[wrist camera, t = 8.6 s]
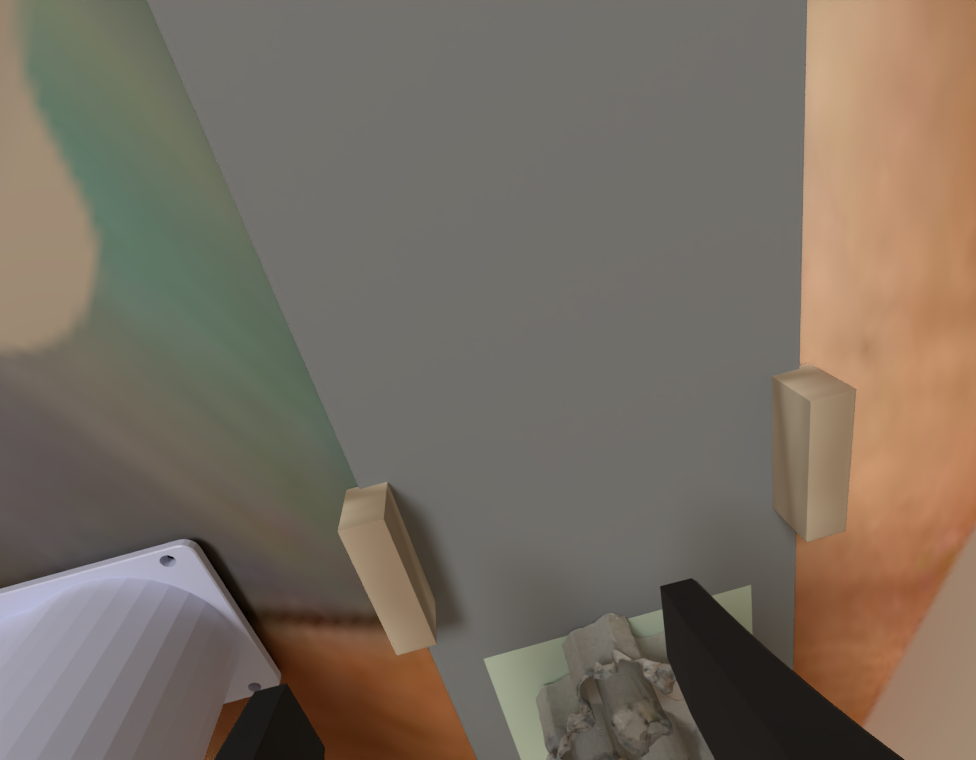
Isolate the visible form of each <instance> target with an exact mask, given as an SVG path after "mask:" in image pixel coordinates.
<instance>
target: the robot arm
mask: <svg viewBox="0 0 976 760" xmlns="http://www.w3.org/2000/svg"><path fill="white" fill-rule="evenodd" d="M166 555H169V556H172V557H174V558H175V559H171V558H168V557H167V556H166ZM660 591H661V601H662V611H663V621H664V631H665V641H666V651H667V659H668V661H669V663H670V666H671V668H672V671H673V673H674V675H675V678H676V680H677V683H678V685H679V687H680V690H681V692H682V694H683V697H684V699H685V701H686V704H687V706H688V708H689V711H690V713H691V715H692V717H693V719H694V721H695V723H696V725H697V727H698V729H699V731H700V733H701V734H702V736H703V738H704V740H705V742H706V744H707V746H708V748H709V750H710V751H711V753H712V755H713V757H714V759H715V760H904V759H903V758H902V757H900V756H899V755H898V754H896V753H895V752H893V751H892V750H891V749H890V748H888V747H887V746H886V745H884V744H883V743H882V742H880V741H879V740H878V739H876V738H875V737H874V736H872V735H871V734H870V733H869V732H867V731H866V730H865V729H863V728H862V727H861V726H860V725H858V724H857V723H856V722H855V721H853V720H852V719H851V718H850V717H848V716H847V715H846V714H845V713H843V712H842V711H841V710H839V709H838V708H837V707H836V706H834V705H833V704H832V703H831V702H829V701H828V700H827V699H826V698H825V697H823V696H822V695H821V694H820V693H819V692H817V691H816V690H815V689H814V688H813V687H811V686H810V685H809V684H808V683H807V682H805V681H804V680H803V679H802V678H801V677H800V676H798V675H797V674H796V673H795V672H794V671H793V670H792V669H790V668H789V667H788V666H787V665H786V664H785V663H783V662H782V661H781V660H780V659H779V658H778V657H776V656H775V655H774V654H773V653H772V652H771V651H770V650H768V649H767V648H766V647H765V646H764V645H763V644H762V643H761V642H760V641H758V640H757V639H756V638H755V637H754V636H753V635H752V634H751V633H750V632H749V631H748V630H746V629H745V628H744V627H743V626H742V625H741V624H740V623H739V622H738V621H737V620H736V619H735V618H734V617H733V616H732V615H730V614H729V613H728V612H727V611H726V610H725V609H724V608H723V607H722V606H721V605H720V604H719V603H718V602H717V601H716V600H715V599H714V598H713V597H712V596H711V595H710V594H709V593H708V592H707V591H706V590H705V589H704V588H703V587H702V586H701V585H700V584H699V583H698V582H697V581H696V580H694V579H692V578H690V579H686V580H682V581H678V582H674V583H670V584H667V585H663V586H660ZM280 680H281V673H280V671H279V669H278V668H277V666H276V665H275V663H274V662H273V660H272V659H271V657H270V655H269V654H268V652H267V651H266V649H265V648H264V646H263V644H262V643H261V641H260V640H259V638H258V637H257V635H256V634H255V632H254V630H253V629H252V627H251V626H250V624H249V623H248V621H247V619H246V618H245V616H244V615H243V613H242V612H241V610H240V609H239V607H238V605H237V604H236V602H235V601H234V599H233V598H232V596H231V594H230V593H229V591H228V590H227V588H226V587H225V585H224V584H223V582H222V580H221V579H220V577H219V576H218V574H217V573H216V571H215V569H214V568H213V566H212V565H211V563H210V562H209V560H208V558H207V557H206V555H205V554H204V552H203V551H202V549H201V548H200V546H199V545H198V544H197V543H196V542H194V541H192V540H187V539H182V540H176V541H173V542H169V543H166V544H162V545H158V546H155V547H151V548H147V549H144V550H140V551H136V552H133V553H129V554H125V555H122V556H118V557H115V558H111V559H107V560H104V561H100V562H96V563H93V564H89V565H85V566H82V567H78V568H74V569H71V570H67V571H63V572H60V573H56V574H53V575H49V576H45V577H42V578H38V579H34V580H31V581H27V582H23V583H20V584H16V585H12V586H9V587H5V588H2V589H0V760H204V758H205V755H206V752H207V749H208V746H209V744H210V741H211V738H212V735H213V732H214V729H215V727H216V724H217V721H218V718H219V715H220V712H221V710H222V707H223V704H225V703H229V702H233V701H236V700H240V699H243V698H247V697H251V698H250V700H249V701H248V703H247V705H246V706H245V708H244V710H243V711H242V713H241V715H240V716H239V718H238V720H237V721H236V723H235V725H234V727H233V728H232V730H231V732H230V733H229V735H228V737H227V738H226V740H225V742H224V744H223V745H222V747H221V749H220V750H219V752H218V754H217V755H216V757H215V759H214V760H324V753H325V747H324V745H323V744H322V742H321V740H320V739H319V737H318V735H317V734H316V732H315V730H314V728H313V727H312V725H311V723H310V722H309V720H308V718H307V717H306V715H305V713H304V712H303V710H302V708H301V707H300V705H299V703H298V702H297V700H296V698H295V696H294V695H293V693H292V691H291V690H290V688H289V686H288V685H287V683H285V684H282V685H279V683H280Z"/></svg>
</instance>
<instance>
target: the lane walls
mask: <svg viewBox="0 0 976 760" xmlns="http://www.w3.org/2000/svg"><path fill="white" fill-rule="evenodd" d="M855 399H856V389H855V388H853V387H851V386H850V385H848V384H846V383H844V382H843V381H841V380H839V379H837V378H835V377H834V376H832V375H830V374H828V373H826V372H825V371H823V370H821V369H819V368H817V367H816V366H814V365H812V364H810V363H807V364H803V365H800V366H799V369H797V370H793V371H790V372H786V373H782V374H779V375H775V376H772V471H773V509H774V510H775V511H776V512H777V513H778V514H779V515H780V516H781V517H782V518H783V519H784V520H785V521H786V522H787V523H788V524H789V525H790V526H791V527H792V528H793V529H794V530H795V531H796V532H797V533H798V534H799V535H800V536H801V537H802V538H803V539H804V540H805V541H806V542H809V541H812V540H816V539H820V538H823V537H827V536H830V535H834V534H838V533H841V532H845V531H846V520H847V506H848V493H849V479H850V466H851V453H852V439H853V426H854V412H855ZM338 534H339V536H340V538H341V540H342V542H343V544H344V546H345V548H346V550H347V552H348V554H349V556H350V559H351V561H352V563H353V565H354V567H355V569H356V571H357V573H358V575H359V577H360V579H361V582H362V584H363V586H364V588H365V590H366V592H367V594H368V596H369V598H370V600H371V602H372V604H373V607H374V609H375V611H376V613H377V615H378V617H379V619H380V621H381V623H382V625H383V627H384V630H385V632H386V634H387V636H388V638H389V640H390V642H391V644H392V646H393V648H394V650H395V652H396V655H400V654H403V653H407V652H411V651H414V650H418V649H422V648H425V647H429V646H432V645H436V644H437V639H436V608H435V599H434V596H433V594H432V591H431V589H430V586H429V584H428V582H427V579H426V577H425V574H424V572H423V569H422V567H421V564H420V562H419V559H418V557H417V554H416V552H415V549H414V547H413V544H412V542H411V539H410V537H409V534H408V532H407V529H406V527H405V524H404V522H403V519H402V517H401V515H400V512H399V510H398V507H397V505H396V502H395V500H394V497H393V495H392V492H391V490H390V487H389V485H388V482H385V483H381V484H378V485H374V486H370V487H367V488H363V489H359V487H355V488H351V489H348V490H346V495H345V500H344V504H343V509H342V514H341V518H340V523H339V528H338Z"/></svg>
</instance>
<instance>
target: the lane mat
mask: <svg viewBox="0 0 976 760" xmlns="http://www.w3.org/2000/svg"><path fill="white" fill-rule="evenodd" d="M147 2H148V4H149V6H150V9H151V11H152V13H153V15H154V18H155V20H156V22H157V25H158V27H159V29H160V32H161V34H162V36H163V38H164V41H165V43H166V45H167V48H168V50H169V52H170V54H171V57H172V59H173V61H174V64H175V66H176V68H177V71H178V73H179V75H180V77H181V80H182V82H183V84H184V87H185V89H186V91H187V94H188V96H189V98H190V100H191V103H192V105H193V107H194V110H195V112H196V114H197V117H198V119H199V121H200V123H201V126H202V128H203V130H204V133H205V135H206V137H207V140H208V142H209V144H210V146H211V149H212V151H213V153H214V156H215V158H216V160H217V163H218V165H219V167H220V169H221V172H222V174H223V176H224V179H225V181H226V183H227V186H228V188H229V190H230V192H231V195H232V197H233V199H234V202H235V204H236V206H237V208H238V211H239V213H240V215H241V218H242V220H243V222H244V225H245V227H246V229H247V231H248V234H249V236H250V238H251V241H252V243H253V245H254V248H255V250H256V252H257V254H258V257H259V259H260V261H261V264H262V266H263V268H264V271H265V273H266V275H267V277H268V280H269V282H270V284H271V287H272V289H273V291H274V294H275V296H276V298H277V300H278V303H279V305H280V307H281V310H282V312H283V314H284V317H285V319H286V321H287V323H288V326H289V328H290V330H291V333H292V335H293V337H294V340H295V342H296V344H297V346H298V349H299V351H300V353H301V356H302V358H303V360H304V363H305V365H306V367H307V369H308V372H309V374H310V376H311V379H312V381H313V383H314V385H315V388H316V390H317V392H318V395H319V397H320V399H321V402H322V404H323V406H324V408H325V411H326V413H327V415H328V418H329V420H330V422H331V425H332V427H333V429H334V431H335V434H336V436H337V438H338V441H339V443H340V445H341V448H342V450H343V452H344V454H345V457H346V459H347V461H348V464H349V466H350V468H351V471H352V473H353V475H354V477H355V480H356V482H357V484H358V487H359V489H363V488H367V487H370V486H374V485H378V484H381V483H385V482H388V485H389V487H390V490H391V492H392V495H393V497H394V500H395V502H396V505H397V507H398V510H399V512H400V515H401V517H402V519H403V522H404V524H405V527H406V529H407V532H408V534H409V537H410V539H411V542H412V544H413V547H414V549H415V552H416V554H417V557H418V559H419V562H420V564H421V567H422V569H423V572H424V574H425V577H426V579H427V582H428V584H429V586H430V589H431V591H432V594H433V596H434V599H435V608H436V639H437V644H436V645H432V646H429V647H428V648H429V650H430V652H431V654H432V657H433V659H434V661H435V664H436V666H437V668H438V671H439V673H440V675H441V677H442V680H443V682H444V684H445V687H446V689H447V691H448V694H449V696H450V698H451V700H452V703H453V705H454V707H455V710H456V712H457V714H458V716H459V719H460V721H461V723H462V726H463V728H464V730H465V733H466V735H467V737H468V739H469V742H470V744H471V746H472V749H473V751H474V753H475V756H476V758H477V760H546V758H547V755H548V754H549V753H548V752H547V749H546V747H545V743H544V736H543V731H542V726H541V722H540V718H539V711H538V707H537V704H536V697H537V696H538V694H539V692H540V690H541V688H542V687H543V686H544V685H549V684H553V683H555V682H557V681H558V680H560V679H562V678H563V677H564V676H566V675H568V674H569V668H568V664H567V661H566V658H565V654H564V650H563V648H562V644H563V643H564V642H565V640H566V638H567V636H568V635H569V633H570V632H572V631H573V630H575V629H578V628H584V627H586V626H587V625H589V624H591V623H595V622H596V621H597V620H598V619H599V618H600V617H602V616H603V615H604V614H607V613H614V614H618V615H621V616H625V617H626V619H627V622H628V624H629V627H630V630H631V634H632V635H633V636H635V637H642V638H645V637H652V636H654V635H657V634H659V633H661V632H663V631H664V621H663V611H662V601H661V591H660V586H663V585H667V584H670V583H674V582H678V581H682V580H686V579H690V578H692V579H694V580H696V581H697V582H698V583H699V584H700V585H701V586H702V587H703V588H704V589H705V590H706V591H707V592H708V593H709V594H710V595H711V596H712V597H713V598H714V599H715V600H716V601H717V602H718V603H719V604H720V605H721V606H722V607H723V608H724V609H725V610H726V611H727V612H728V613H729V614H730V615H732V616H733V617H734V618H735V619H736V620H737V621H738V622H739V623H740V624H741V625H742V626H743V627H744V628H745V629H746V630H748V631H749V632H750V633H751V634H752V635H753V636H754V637H755V638H756V639H757V640H758V641H760V642H761V643H762V644H763V645H764V646H765V647H766V648H767V649H768V650H770V651H771V652H772V653H773V654H774V655H775V656H776V657H778V658H779V659H780V660H781V661H782V662H783V663H785V664H786V665H787V666H788V667H789V668H790V669H792V670H793V654H794V606H795V558H796V531H795V530H794V529H793V528H792V527H791V526H790V525H789V524H788V523H787V522H786V521H785V520H784V519H783V518H782V517H781V516H780V515H779V514H778V513H777V512H776V511H775V510H774V509H773V471H772V376H775V375H779V374H782V373H786V372H790V371H793V370H797V369H799V364H800V316H801V267H802V219H803V171H804V122H805V74H806V26H807V0H147Z"/></svg>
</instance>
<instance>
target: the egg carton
mask: <svg viewBox="0 0 976 760" xmlns="http://www.w3.org/2000/svg"><path fill="white" fill-rule="evenodd" d="M562 648H563V650H564V654H565V658H566V661H567V664H568V668H569V674H568V675H566V676H564V677H563V678H562V679H560V680H558V681H557V682H555V683H553V684H549V685H544V686H543V687H542V688H541V690H540V692H539V694H538V696H537V697H536V704H537V707H538V711H539V718H540V722H541V726H542V731H543V736H544V743H545V747H546V749H547V752H548V753H549V754H548V755H547V758H546V760H715V759H714V757H713V755H712V753H711V751H710V750H709V748H708V746H707V744H706V742H705V740H704V738H703V736H702V734H701V733H700V731H699V729H698V727H697V725H696V723H695V721H694V719H693V717H692V715H691V713H690V711H689V708H688V706H687V704H686V701H685V699H684V697H683V694H682V692H681V690H680V687H679V685H678V683H677V680H676V678H675V675H674V673H673V671H672V668H671V666H670V663H669V661H668V659H667V651H666V641H665V631H663V632H661V633H659V634H657V635H654V636H652V637H645V638H642V637H635V636H633V635H632V634H631V630H630V627H629V624H628V622H627V619H626V617H625V616H621V615H618V614H614V613H607V614H604V615H603V616H602V617H600V618H599V619H598V620H597V621H596V622H595V623H591V624H589V625H587V626H586V627H584V628H578V629H575V630H573V631H572V632H570V633H569V635H568V636H567V638H566V640H565V642H564V643H563V644H562Z"/></svg>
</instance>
